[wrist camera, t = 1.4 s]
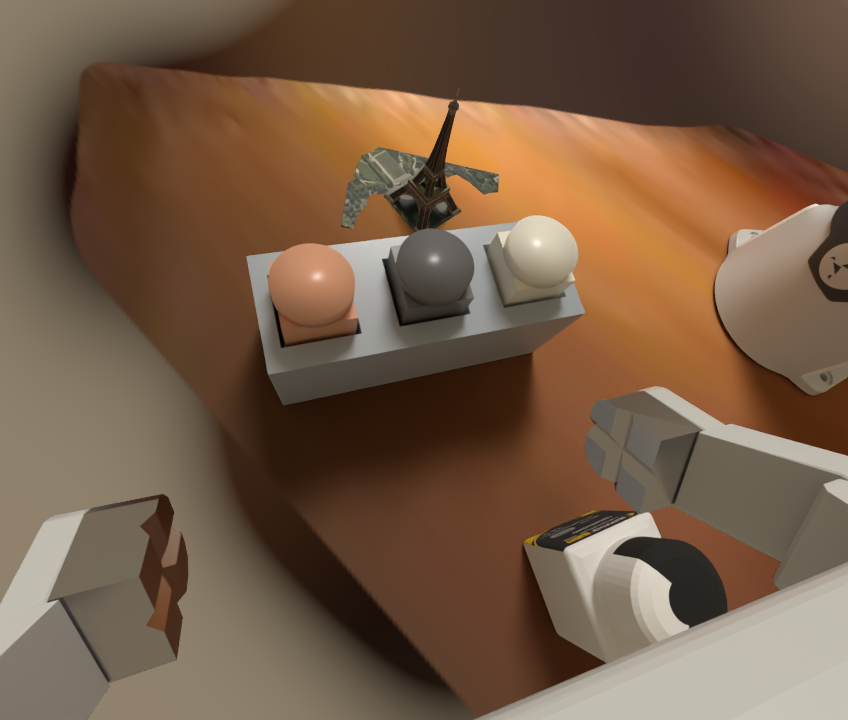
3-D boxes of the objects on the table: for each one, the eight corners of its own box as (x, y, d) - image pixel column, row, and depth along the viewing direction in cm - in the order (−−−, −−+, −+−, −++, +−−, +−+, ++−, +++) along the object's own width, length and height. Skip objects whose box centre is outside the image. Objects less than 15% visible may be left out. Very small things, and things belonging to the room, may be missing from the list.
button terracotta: (342, 295, 34) (345, 238, 27) (356, 354, 33) (363, 312, 25) (276, 305, 33) (261, 249, 25) (288, 367, 31) (276, 326, 24)
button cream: (519, 267, 38) (563, 211, 30) (537, 319, 36) (588, 274, 29) (466, 275, 36) (500, 219, 29) (483, 329, 35) (523, 285, 28)
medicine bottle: (594, 508, 37) (707, 511, 26) (631, 597, 36) (768, 640, 24) (520, 541, 35) (608, 558, 24) (556, 636, 34) (668, 702, 23)
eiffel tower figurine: (499, 177, 47) (561, 59, 34) (495, 262, 43) (561, 166, 31) (355, 145, 44) (365, 5, 32) (339, 232, 41) (343, 115, 29)
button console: (505, 274, 43) (549, 217, 34) (532, 352, 41) (585, 313, 32) (265, 312, 37) (246, 256, 28) (283, 405, 35) (267, 374, 26)
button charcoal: (435, 280, 36) (462, 224, 29) (452, 335, 35) (484, 291, 27) (377, 289, 34) (389, 233, 27) (392, 347, 33) (408, 304, 26)
